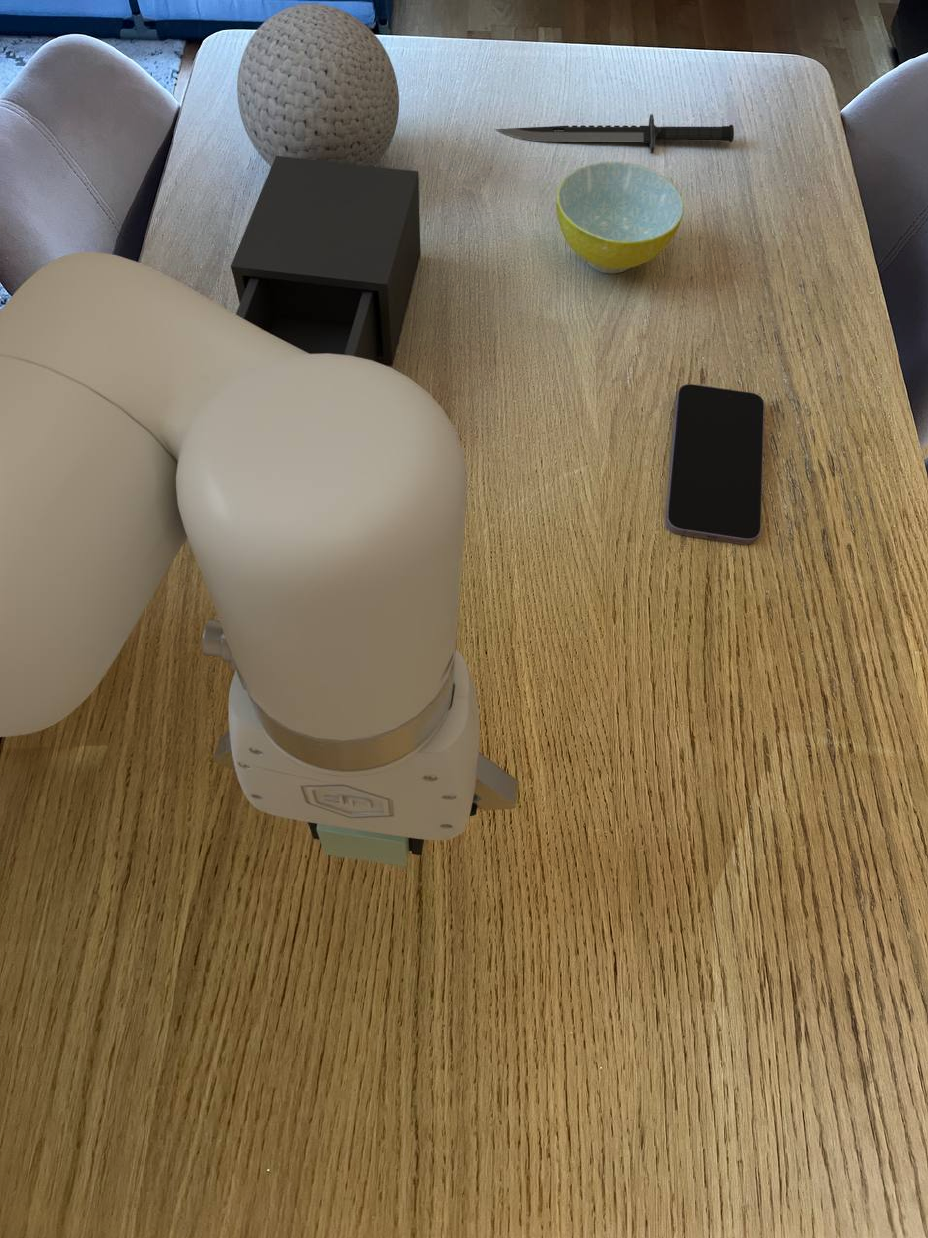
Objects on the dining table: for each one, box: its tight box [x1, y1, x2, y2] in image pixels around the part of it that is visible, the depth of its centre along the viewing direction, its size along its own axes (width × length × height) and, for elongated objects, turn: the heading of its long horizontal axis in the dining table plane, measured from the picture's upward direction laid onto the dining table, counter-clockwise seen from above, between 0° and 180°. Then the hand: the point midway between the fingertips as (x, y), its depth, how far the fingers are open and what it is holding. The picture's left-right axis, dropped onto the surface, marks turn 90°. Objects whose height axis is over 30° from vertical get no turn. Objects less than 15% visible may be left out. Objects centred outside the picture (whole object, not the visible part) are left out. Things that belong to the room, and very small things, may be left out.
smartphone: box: [664, 383, 766, 545], centre depth 73 cm, size 7×1×15 cm
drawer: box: [235, 276, 382, 361], centre depth 72 cm, size 19×11×7 cm, turn 172°
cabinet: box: [230, 156, 422, 367], centre depth 79 cm, size 15×13×9 cm
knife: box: [495, 113, 735, 154], centre depth 95 cm, size 25×2×5 cm
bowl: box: [556, 161, 685, 275], centre depth 84 cm, size 11×12×6 cm
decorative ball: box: [236, 3, 400, 168], centre depth 85 cm, size 15×15×15 cm
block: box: [317, 824, 411, 868], centre depth 47 cm, size 4×4×4 cm
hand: (373, 818), depth 48 cm, fingers closed on block, 4 cm apart
